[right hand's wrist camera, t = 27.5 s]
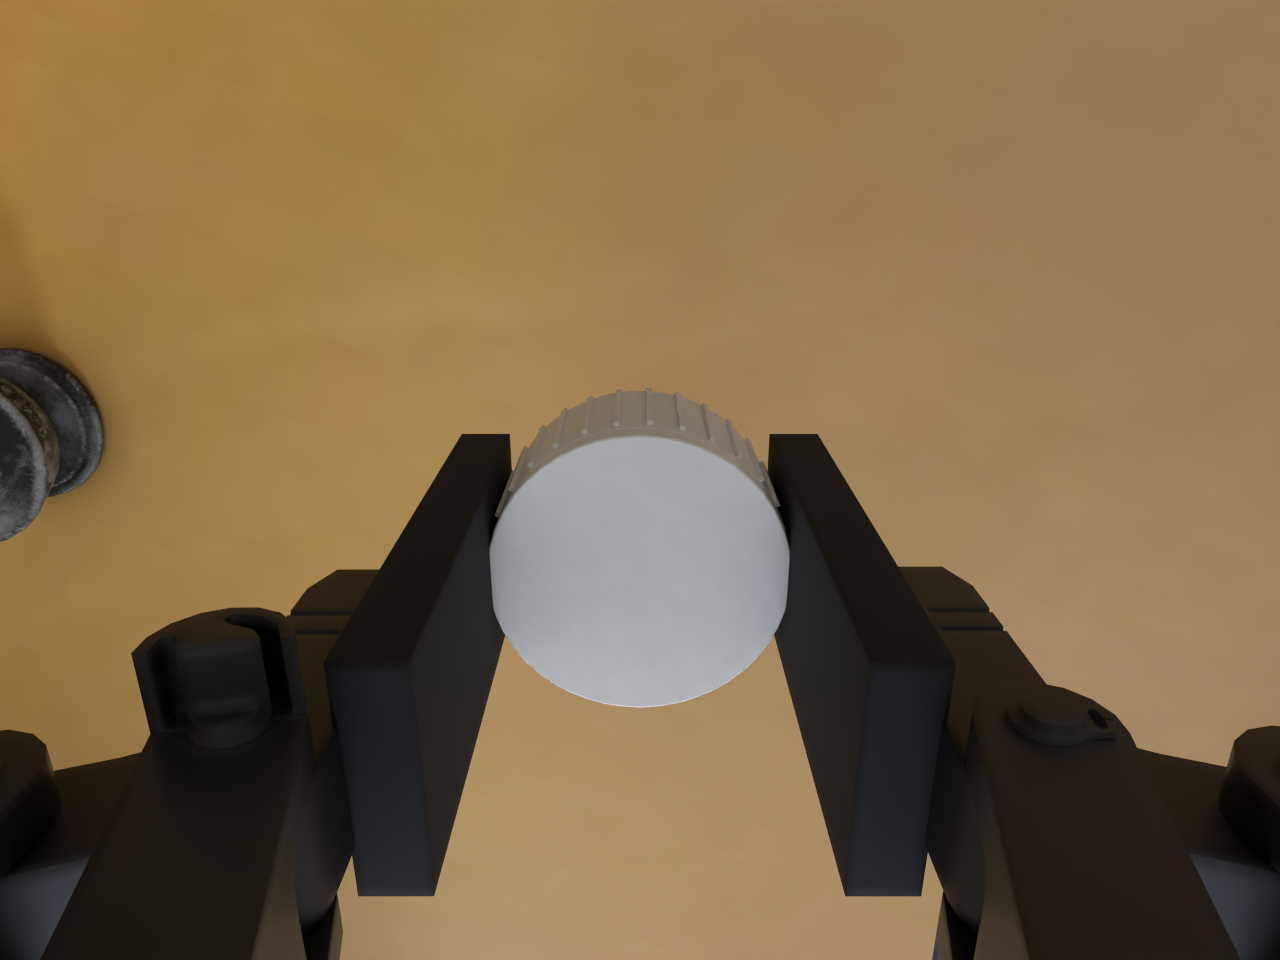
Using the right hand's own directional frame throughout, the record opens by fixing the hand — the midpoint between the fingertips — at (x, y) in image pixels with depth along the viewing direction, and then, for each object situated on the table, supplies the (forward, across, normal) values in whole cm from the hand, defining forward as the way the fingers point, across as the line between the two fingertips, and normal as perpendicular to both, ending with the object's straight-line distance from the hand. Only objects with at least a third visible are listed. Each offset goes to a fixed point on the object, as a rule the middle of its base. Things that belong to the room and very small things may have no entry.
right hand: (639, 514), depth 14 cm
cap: (-2, 0, 0) cm, 2 cm away
